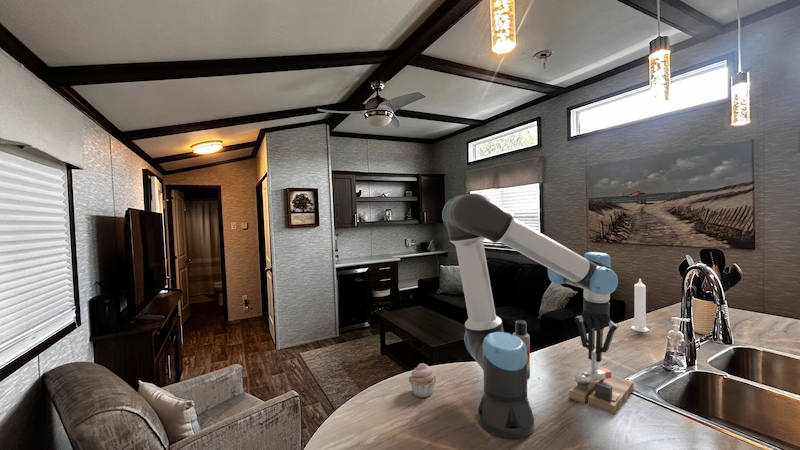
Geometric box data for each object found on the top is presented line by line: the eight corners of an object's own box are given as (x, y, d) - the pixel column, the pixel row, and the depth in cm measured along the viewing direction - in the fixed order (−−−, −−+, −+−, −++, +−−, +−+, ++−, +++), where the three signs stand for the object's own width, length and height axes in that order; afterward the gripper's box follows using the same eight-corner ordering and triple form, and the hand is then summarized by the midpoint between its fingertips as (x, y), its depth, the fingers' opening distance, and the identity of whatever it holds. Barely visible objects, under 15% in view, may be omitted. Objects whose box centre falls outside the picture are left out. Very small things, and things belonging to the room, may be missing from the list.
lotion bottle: (531, 380, 120) (530, 323, 119) (514, 379, 121) (513, 323, 120) (528, 373, 125) (528, 318, 125) (512, 372, 126) (511, 318, 126)
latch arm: (583, 386, 107) (583, 379, 107) (571, 379, 111) (571, 373, 111) (613, 378, 111) (613, 372, 111) (601, 373, 115) (601, 366, 115)
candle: (634, 326, 172) (634, 276, 172) (650, 329, 167) (651, 278, 166) (629, 329, 168) (629, 278, 167) (646, 333, 162) (646, 280, 162)
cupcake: (424, 404, 106) (424, 372, 106) (402, 393, 113) (402, 363, 113) (443, 392, 113) (442, 362, 113) (421, 383, 120) (420, 354, 119)
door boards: (614, 414, 99) (614, 392, 99) (569, 398, 108) (569, 377, 108) (633, 389, 112) (633, 369, 112) (591, 376, 122) (591, 358, 121)
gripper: (622, 301, 111) (620, 372, 112) (579, 294, 120) (578, 360, 122) (615, 306, 106) (613, 381, 107) (571, 298, 115) (570, 367, 116)
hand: (594, 370), depth 114 cm, fingers closed
